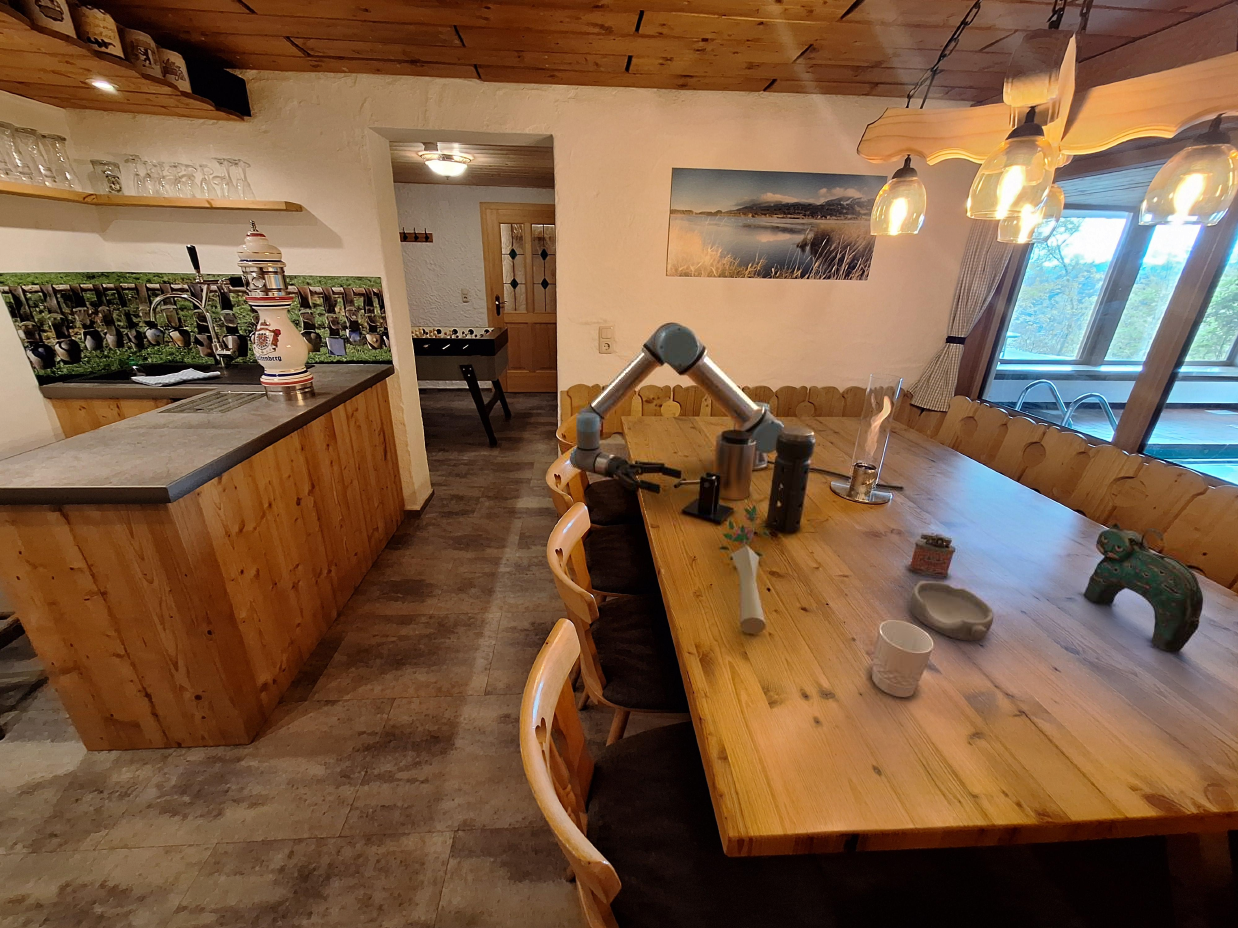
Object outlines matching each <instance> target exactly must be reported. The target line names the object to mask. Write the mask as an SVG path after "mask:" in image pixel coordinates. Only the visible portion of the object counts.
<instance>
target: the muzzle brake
mask: <svg viewBox="0 0 1238 928" xmlns="http://www.w3.org/2000/svg"><path fill="white" fill-rule="evenodd" d="M814 434H815V433H814V431H813V429H811V428H808V427H805V426H800V425H784V427H782V428H781V433H779V434H778V436H777V441H776V448H775V449H776V451H775V452H776V454H777V455H775V458H774V462H775V463H774V465H773V472H772V479H771V485H770V492H769V493H770V494H769V500H768V506H767V513H766V522H765V526H766V527H768V528H769V529H770V530H772V531H773V532H777V533H780V534H794V533H797V532H798V531H800V528H801V523H802V515H803V510H804V505H805V498H806V493H807V492H806V491H807V486H808V480H809V475H810V470H809V469H810V468H811V459H810V458H812V456H813V455H814V453H815V447H816V439H815V436H814ZM778 504H780V505H778ZM776 520H777V522H776Z"/></svg>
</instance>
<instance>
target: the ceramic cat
mask: <svg viewBox="0 0 1238 928" xmlns="http://www.w3.org/2000/svg"><path fill="white" fill-rule="evenodd" d="M1150 531H1152V532H1154V533H1155V534H1156V535H1157V536H1158V538H1159V539H1160V541H1161V542H1162V541H1163V540H1164V537H1163V535H1162V533H1161V532H1160V531H1158V530H1157V529H1155V528H1147V529H1146V530H1145V531H1144V532H1143V535H1141V534H1140V533H1138V532H1136V531H1133V530H1124V529H1123V528H1121V526H1120V525H1119V524H1118V523H1116V522H1115V523H1113V524H1112V525H1111V526H1110V527H1109V528H1108V529H1105V530H1102V531H1101V532H1100V533H1099V535H1098V537H1097V540H1096V542H1095V543H1096V544H1095V548H1096V550H1097V552H1099V553H1100V555H1102V556H1104V557H1103V558H1102V559H1101V560H1099V562H1098V563H1097V565H1096V567H1095V568H1094V571H1093V573H1092V574H1091V575H1090V576H1089V580H1088V583H1087V586H1086V588H1085V590H1084V593H1083V596H1084V597H1086V598H1087V599H1089V600H1090V601H1091V602H1093V603H1095V604H1100V605H1113V604H1114V601H1115V599H1116V597H1117V595H1118V594H1119V593H1120V592H1123V590H1125V589H1126V590H1129V591H1132V592H1134V593H1135V594H1137V595H1139V596H1141V597H1142V598H1143V599H1145V601H1147V602H1148V603H1149V605H1150V606H1151V607H1152V609H1153V612H1154V614H1153V615H1154V625H1153V633H1152V638H1151V643H1152V644H1153V645H1154V646H1155V647H1157V648H1159V649H1161V650H1162V651H1164V652H1180V651H1181V650H1182V649H1183V648H1184V647H1185V645H1186V644H1187V643H1188V642H1189V641H1190V639H1191V638H1192V636H1193V635H1194V634H1195V633H1196V631H1197V630H1198V629H1199V626H1200V619H1201V614H1202V611H1203V607H1204V595H1203V592H1202V589H1201V587H1200V584H1199V581H1198V577H1197V576H1196V574H1195V573H1194V572H1193V571H1192V570H1191V569H1190V568H1189V567H1188V566H1187V565H1186V564H1184V563H1183V562H1181V561H1180V560H1178V559H1176V558H1174V557H1171V556H1168V555H1163V554H1160V553H1157V552H1153V551H1151V549H1150V547H1149V544H1148V543H1147V541H1146V539H1145V536H1146V534H1147V532H1150Z"/></svg>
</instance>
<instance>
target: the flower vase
mask: <svg viewBox="0 0 1238 928" xmlns="http://www.w3.org/2000/svg"><path fill="white" fill-rule="evenodd" d="M743 510H744V512H745V515H744V517H745V520H746V521H747V522H749V523H752V529H751V528H749V526H745V525H744V524H742V525H741V526H738V528H737V529H735V528H736V527H735V525H734V522H733V521H732V520H731V519H729V520H728V528H729V530H730V531H733V534H731V533H722V536H723V537H724V538H725V539H727V540H729V541H731V540H732V541H731V543H738V544H739V545H740V546H741V545H742V546H743V547H742V548H740V549H737V550H736V551H734V552H733V551H732V550H731V549H730V548H729V547H728V546H727V545H723V546H720V547H718V550H724V551H731V553H730V557H729V560H730V561H733V563H734V565H735V568H736V570H737V575H738V580H739V581H738V582H739V607H740V608H739V610H740V611H739V612H740V613H739V617H740V618H739V628H740V629H741V630H742V632H744V633H747V634H753V635H756V634H759V633H763V631H764V630H765V629H766V626H767V623H766V619H765V616H764V611H763V608H762V607H763V606H762V604H761V599H760V595H759V594H760V593H759V590H758V584H757V573H758V568H759V561H760V557H762V556H764V554H763V553H761V552H760V551H754V550H753V549H752V548H751V547H750V546H749V545H750V542H751V543H754V541H755V536H753V535H755V532H758V533H761V535H763V536H764V537H767V538H772V537H771V534H770V533H769V532H768V531H766V530H763V531H761V528H762V527H764V526H766V523H765V524H762V525H760V527H759V530H755V522H757V521H758V518H759V517H758V512H757V507H756V504H754V505H753V506H752V507H751V509H749V508H746V507H743ZM734 529H735V531H734Z"/></svg>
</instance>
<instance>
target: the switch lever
mask: <svg viewBox="0 0 1238 928" xmlns="http://www.w3.org/2000/svg"><path fill="white" fill-rule="evenodd" d="M709 478H713V479H716V476H711V477H709ZM695 485H698V486H699V485H700V479H697V480H696V479H694V480H687V478H686V477H683V478H681V479H679V481H677V482H676V483H674V484H673V486H672V487H673V489H675V490H677V489H679V488H680V487H681V486H695ZM716 485H717V480H716Z"/></svg>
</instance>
